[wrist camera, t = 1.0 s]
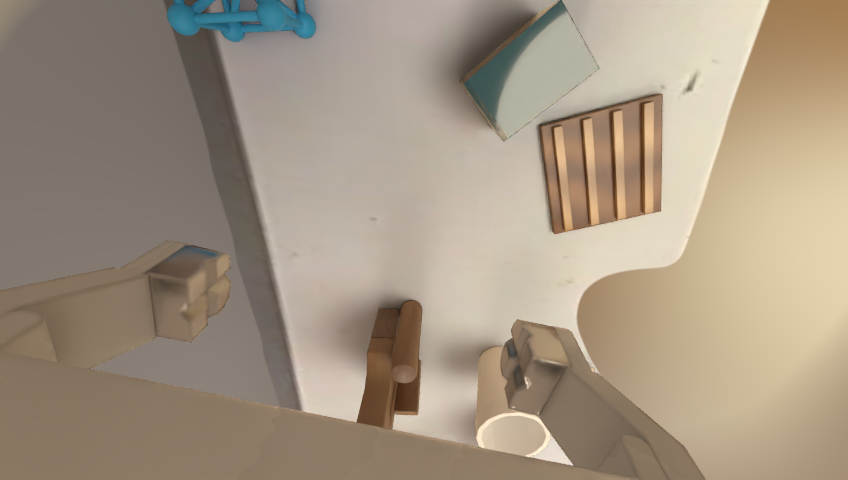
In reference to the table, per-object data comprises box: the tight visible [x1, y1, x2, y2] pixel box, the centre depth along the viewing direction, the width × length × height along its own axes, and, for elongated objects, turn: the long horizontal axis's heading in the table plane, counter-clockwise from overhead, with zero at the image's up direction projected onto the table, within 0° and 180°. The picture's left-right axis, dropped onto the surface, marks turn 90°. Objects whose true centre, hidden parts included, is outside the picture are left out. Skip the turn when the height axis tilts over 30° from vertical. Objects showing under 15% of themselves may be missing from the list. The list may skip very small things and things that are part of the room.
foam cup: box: [475, 347, 551, 457], centre depth 51 cm, size 10×9×13 cm
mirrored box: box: [459, 0, 599, 141], centre depth 35 cm, size 10×7×8 cm, turn 129°
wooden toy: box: [357, 301, 422, 429], centre depth 44 cm, size 16×7×25 cm, turn 0°
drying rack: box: [539, 94, 663, 234], centre depth 42 cm, size 14×13×1 cm
